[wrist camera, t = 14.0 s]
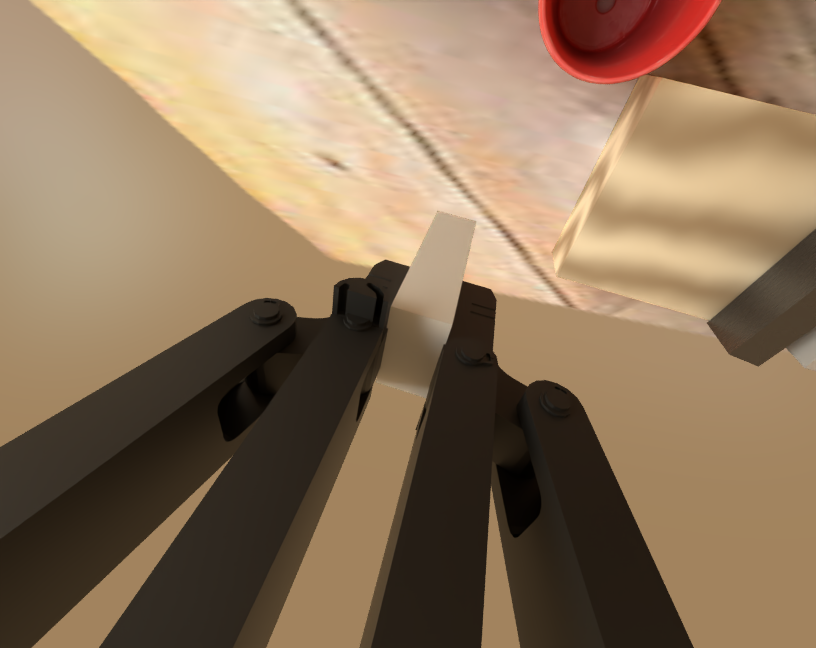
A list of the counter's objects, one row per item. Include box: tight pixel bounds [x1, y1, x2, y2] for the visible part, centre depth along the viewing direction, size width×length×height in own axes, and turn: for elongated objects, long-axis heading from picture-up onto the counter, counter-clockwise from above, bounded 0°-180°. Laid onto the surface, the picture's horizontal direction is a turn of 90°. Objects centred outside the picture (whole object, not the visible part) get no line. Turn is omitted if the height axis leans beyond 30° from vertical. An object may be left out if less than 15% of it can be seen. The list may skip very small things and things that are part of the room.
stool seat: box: [552, 75, 816, 321], centre depth 34 cm, size 18×23×6 cm
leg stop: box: [786, 327, 816, 371], centre depth 33 cm, size 4×2×6 cm, turn 168°
